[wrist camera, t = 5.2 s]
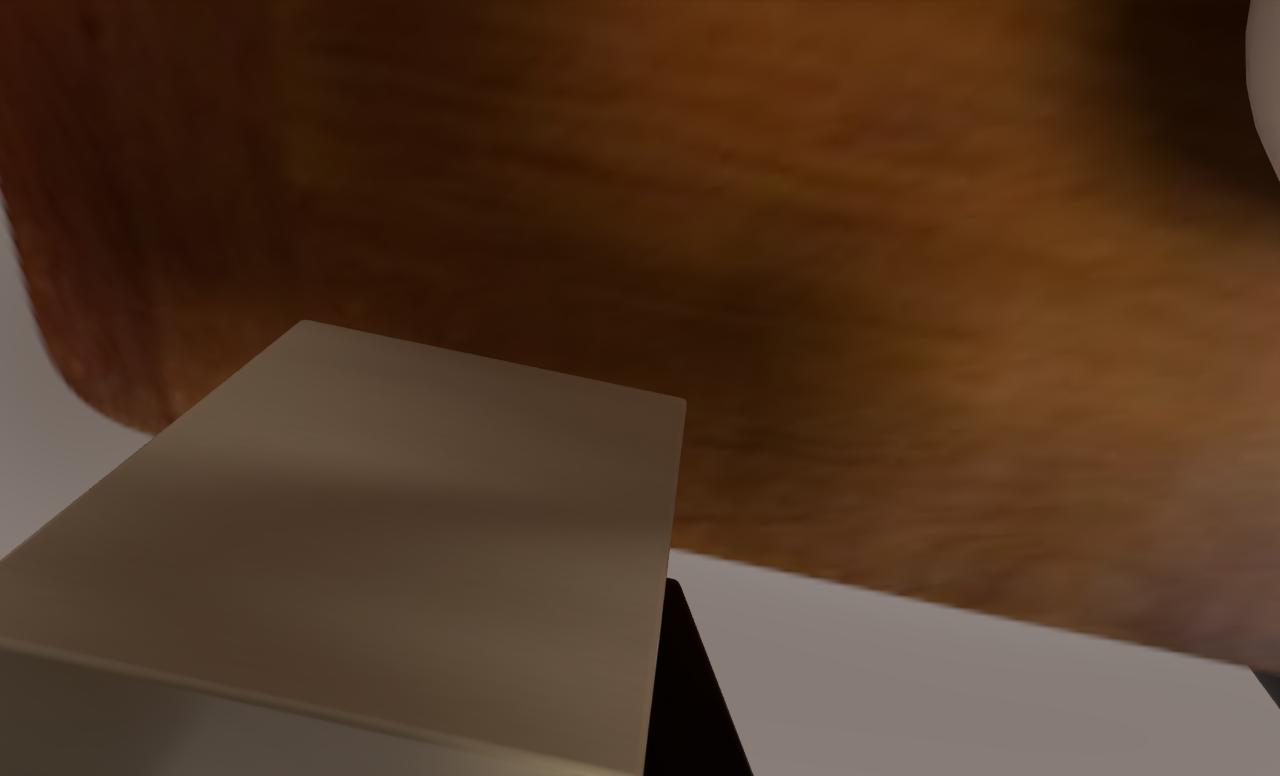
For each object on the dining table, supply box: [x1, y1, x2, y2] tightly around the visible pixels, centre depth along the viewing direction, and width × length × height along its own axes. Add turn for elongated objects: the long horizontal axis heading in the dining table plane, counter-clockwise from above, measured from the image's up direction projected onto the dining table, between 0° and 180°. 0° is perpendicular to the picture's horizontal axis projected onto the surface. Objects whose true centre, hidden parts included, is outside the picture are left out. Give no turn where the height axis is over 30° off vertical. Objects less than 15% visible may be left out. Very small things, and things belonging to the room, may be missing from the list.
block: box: [0, 320, 687, 776], centre depth 8 cm, size 5×5×5 cm
